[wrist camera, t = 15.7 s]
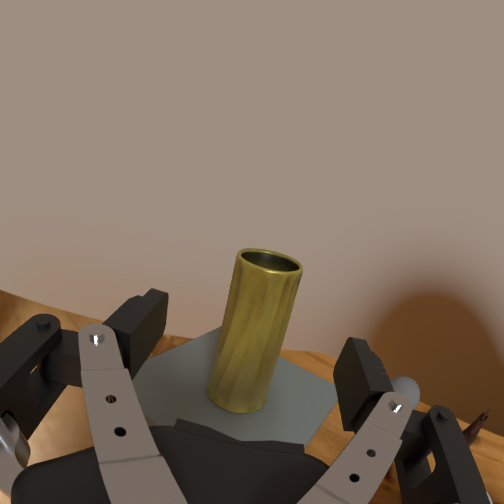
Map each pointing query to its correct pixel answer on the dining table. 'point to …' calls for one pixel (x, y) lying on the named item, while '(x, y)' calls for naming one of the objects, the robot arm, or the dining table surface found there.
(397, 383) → the light bulb
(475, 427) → the chess piece
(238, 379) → the vase
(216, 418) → the stool
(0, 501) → the dining table surface
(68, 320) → the dining table surface
